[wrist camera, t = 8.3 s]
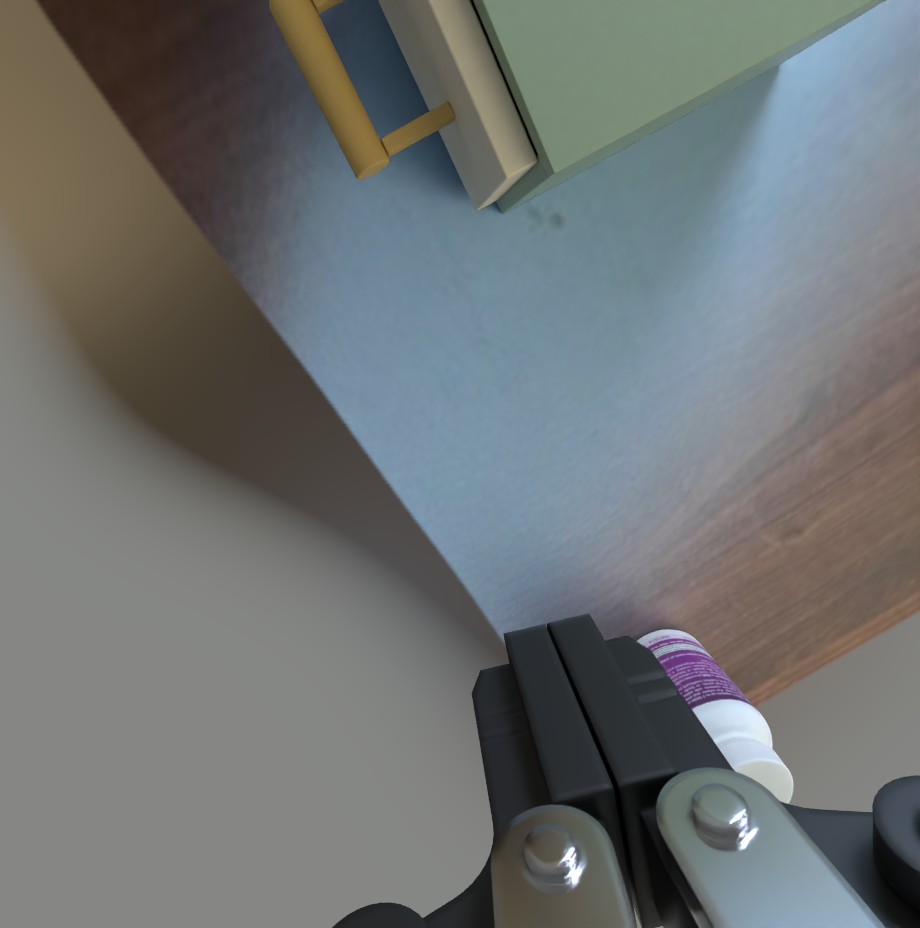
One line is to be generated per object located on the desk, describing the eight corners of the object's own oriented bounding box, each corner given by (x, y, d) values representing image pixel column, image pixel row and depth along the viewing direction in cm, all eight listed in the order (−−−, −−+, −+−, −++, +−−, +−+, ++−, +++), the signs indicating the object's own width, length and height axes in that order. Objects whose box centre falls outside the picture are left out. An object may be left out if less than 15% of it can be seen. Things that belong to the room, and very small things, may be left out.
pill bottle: (600, 657, 35) (673, 787, 26) (678, 609, 35) (781, 724, 25) (641, 719, 36) (725, 863, 27) (717, 673, 36) (827, 804, 27)
